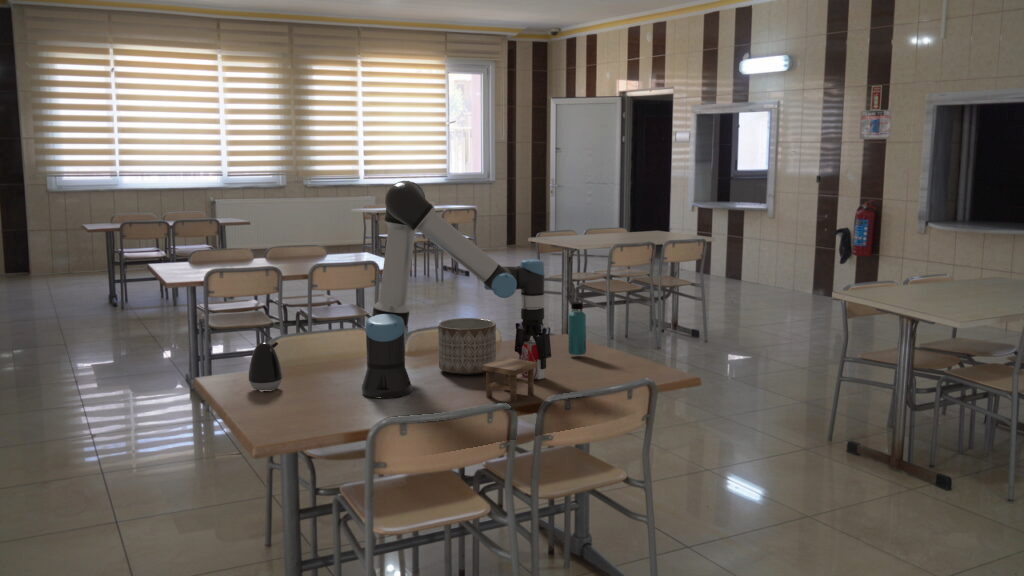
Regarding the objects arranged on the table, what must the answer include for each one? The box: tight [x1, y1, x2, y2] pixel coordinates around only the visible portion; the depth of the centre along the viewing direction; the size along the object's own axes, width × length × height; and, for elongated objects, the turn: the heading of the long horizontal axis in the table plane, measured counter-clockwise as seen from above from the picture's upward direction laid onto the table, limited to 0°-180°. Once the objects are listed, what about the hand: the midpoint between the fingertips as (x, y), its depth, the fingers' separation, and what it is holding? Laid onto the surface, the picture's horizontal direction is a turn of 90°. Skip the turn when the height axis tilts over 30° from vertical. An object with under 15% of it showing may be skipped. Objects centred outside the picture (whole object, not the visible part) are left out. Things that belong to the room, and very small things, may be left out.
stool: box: [482, 357, 538, 403], centre depth 264 cm, size 12×12×10 cm
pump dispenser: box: [248, 341, 284, 391], centre depth 271 cm, size 10×10×15 cm
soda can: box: [521, 339, 539, 381], centre depth 284 cm, size 7×7×12 cm
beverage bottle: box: [567, 301, 587, 356], centre depth 312 cm, size 6×7×20 cm
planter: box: [437, 317, 497, 376], centre depth 293 cm, size 19×19×16 cm
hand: (532, 376), depth 285 cm, fingers closed on soda can, 7 cm apart
